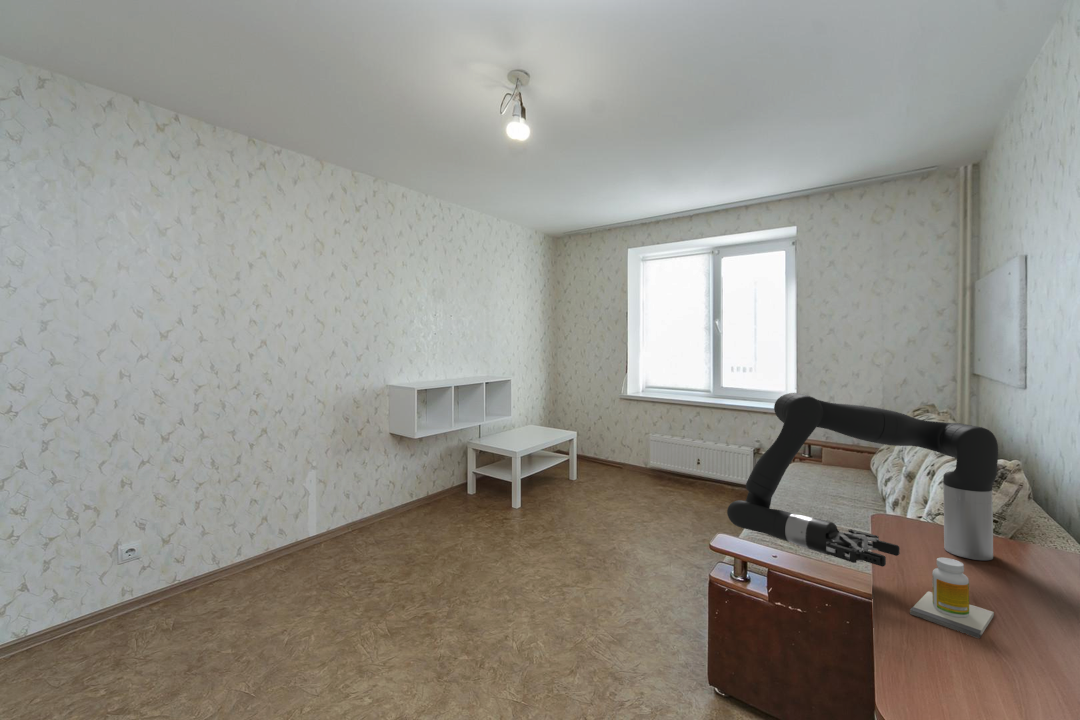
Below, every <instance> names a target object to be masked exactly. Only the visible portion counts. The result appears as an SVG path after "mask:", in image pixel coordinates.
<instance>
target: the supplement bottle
mask: <svg viewBox="0 0 1080 720" xmlns="http://www.w3.org/2000/svg"><path fill="white" fill-rule="evenodd" d="M936 566H937V567H936V568H934V569H933V570H932V575H931V576H932V577H931V578H932V579H931V581H932V582H931V583H932V585H931V586H932V589H931V591H932V593H933V606H934V608H935V609H937V610H938V611H940V612H942V613H944V614H947V615H950V616H954V617H967V616H969V604H970V583H969V582H970V580H969V577H968V576H967V575H966V574H964V572H965V565H964V563H963V562H962V561H959V560H956V559H953V558H949V557H938V558H936Z"/></svg>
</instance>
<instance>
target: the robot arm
mask: <svg viewBox="0 0 1080 720" xmlns="http://www.w3.org/2000/svg"><path fill="white" fill-rule="evenodd" d="M773 410H774V413H775V416H776V417H777V419H779V421H780V422H781V423H783V425H782V428H781V430H780V432H779V435H778V436H777V437H776V439H775V441H774V442H773V443H772V444H771V446H770V447H769V448H767V450H766V451H765V452H764V453H763V454H762V455H761V456H760V458H758V460H757V461H756V463H755V465H754V466H753V469H752V470H751V473H750V474H749V476H748V479H747V480H746V482H745V488H746V490H747V492H748V493H747V496H746V499H745V500H741V499H740V500H739V499H738V500H735V501H732V502H731V503H730V504H729V505H728V507H727V510H726V514H727V517H728V519H729V521H730V522H731V523H732V524H733V525H734V526H736V527H738V528H741V529H745V530H750V531H752V532H758V533H761V534H766V535H767V536H768V535H769V536H771V537H773V538H776V539H779V540H782V541H786V542H788V543H792V544H794V545H796V546H798V547H801V548H805V549H807V550H811V551H814V552H818V553H820V554H824V555H827V556H832V557H835V558H838V559H841V560H844V561H847V562H850V563H853V564H857V562H860V563H861V562H862V563H863V562H865V563H870V564H873V565H876V566H878V567H885V566H886V562H887V561H886V560H887V559H886V555H884V554H889V555H892V556H896V557H899V555H900V554H901V553H900V550H901V549H900V546H899V545H898V544H894V543H891V542H887V541H884V540H880V539H879V538H880V536H878V535H876V534H872V533H869V532H868V533H867V532H864V531H860V530H855V529H851V528H849V529H848V531H844V532H843V531H839V529H838V526H837V525H836V524H835V523H834V522H832V521H829V520H824V519H821V518H816V517H812V516H808V515H804V514H799V513H793V512H790V511H785V510H782V509H781V510H780V509H775V508H771V504H772V497H773V496H774V495H775V492H776V491H777V488H778V486H779V485H780V482H781V481H782V478H783V477H784V475H785V474H786V472H787V469H788V467H789V466H790V464H791V463H792V461H793V460H794V458H795V457H796V455H797V454H798V453H799V451H800V449H801V448H802V447H803V445H804V444H805V443H806V442H807V440H808V438H809V437H810V436H811V435H812V434H813V433H814V431H815V430H816V429H817V428H820V429H824V430H825V429H826V430H829V431H832V432H835V433H838V434H841V435H844V436H847V437H850V438H854V439H856V440H857V439H858V440H861V441H865V442H868V443H874V444H878V445H879V444H881V445H885V446H893V447H894V446H896V447H904V446H905V447H918V448H922V449H926V450H930V451H933V452H936V453H939V454H943V455H946V456H948V457H951V458H954V459H956V465H955V468H954V470H951V471H946V472H944V473H943V478H942V480H943V481H942V482H943V483H942V484H943V487H942V488H943V541H944V542H943V543H944V545H943V546H944V550H945V551H946V552H947V553H949V554H952V555H954V556H956V557H957V556H958V557H960V558H965V559H969V560H975V561H985V562H986V561H992V560H993V559H994V524H993V523H994V522H993V521H994V517H993V516H994V514H993V513H994V510H993V505H994V504H993V503H994V502H993V484H994V482H995V481H996V478H997V477H998V476H997V475H998V464H999V463H998V459H999V444H998V440H997V438H996V436H995V435H994V433H993V432H992V431H991V430H989V429H988V428H985V427H983V426H977V425H972V424H965V423H961V422H959V423H958V422H944V421H943V422H942V421H934V420H933V421H932V420H924V419H919V418H915V417H913V416H910V415H908V414H904V413H902V412H898V411H895V410H892V409H891V410H890V409H885V408H879V407H873V406H865V405H857V404H848V403H837V402H835V403H834V402H830V401H825V400H820V399H816V398H815V397H813V396H810V395H807V394H804V393H799V392H790V393H786V394H783V395H781V396H780V397H778V398H777V399H776V400H775V402H774V404H773ZM870 550H871V551H870ZM874 551H878V552H882V553H884V554H880V553H877V552H874Z"/></svg>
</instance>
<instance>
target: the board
mask: <svg viewBox="0 0 1080 720" xmlns="http://www.w3.org/2000/svg"><path fill="white" fill-rule="evenodd" d="M994 614H995V613H994V611H991V610H989V609H985V608H982V607H980V606H976V605H973V604H970V603H969V616H967V617H954V616H950V615H947V614H944V613H942V612H940V611H938V610H937V609H935V608H934V606H933V591H932V592H931V591H929V590H928V591H926V593H925V594H924V595H923V596H922V597H921V598H920V599H919V600H918V601H917V602H916V603H915V604H914V606H912V607H911V608H910V609H909V615H911V616H915V617H917V618H921V619H922V620H926V621H928V622H931V623H934V624H937V625H940V626H943V627H945V628H948V629H951V630H953V631H956V630H957V631H956V632H959V631H960V632H959V633H962V634H964V633H966V634H965V635H967V634H968V635H967V636H970V635H971V636H970V637H974V638H976V639H978V638H979V639H981V637H982V635H983V633H984V632H985V630H986V629H987V628H988V626H989V624H990V623H991V621H992V619H993V618H994V617H995V616H994Z"/></svg>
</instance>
